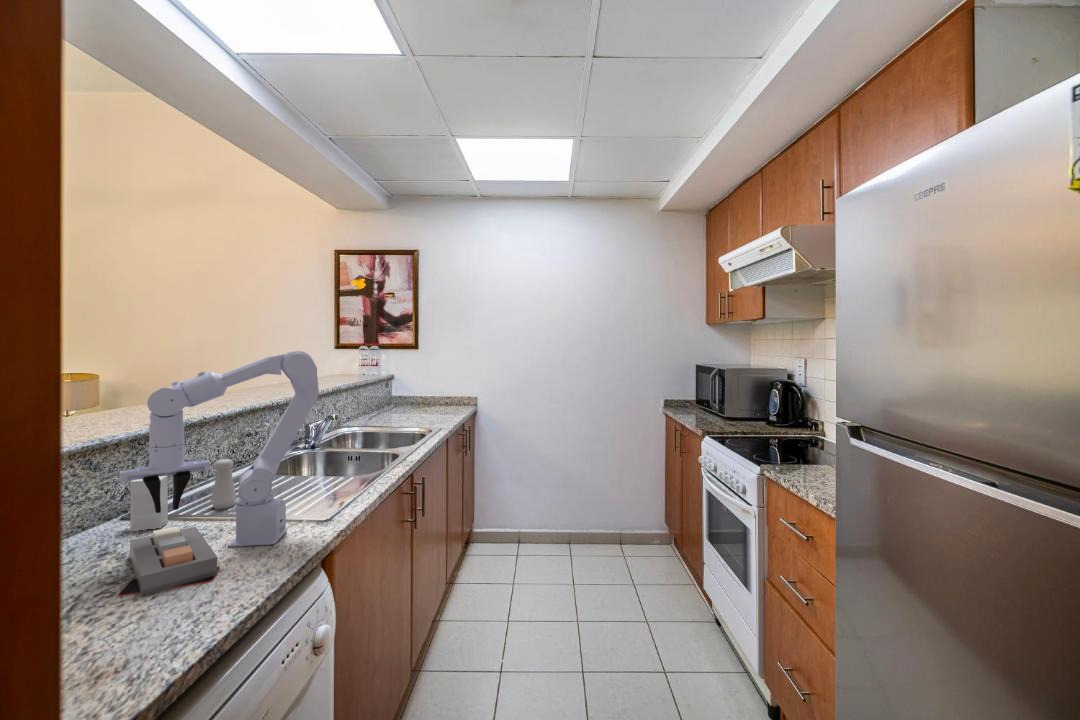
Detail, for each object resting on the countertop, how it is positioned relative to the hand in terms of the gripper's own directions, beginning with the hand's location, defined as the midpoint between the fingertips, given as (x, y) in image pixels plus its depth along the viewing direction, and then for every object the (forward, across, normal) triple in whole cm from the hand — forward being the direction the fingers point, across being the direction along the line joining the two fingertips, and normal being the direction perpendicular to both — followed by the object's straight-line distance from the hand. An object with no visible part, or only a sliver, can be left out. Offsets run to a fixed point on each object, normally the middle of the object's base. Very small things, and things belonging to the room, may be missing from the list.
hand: (166, 510), depth 97 cm
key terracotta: (+7, 0, +14) cm, 16 cm away
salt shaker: (+10, -16, -28) cm, 33 cm away
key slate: (+7, 0, +7) cm, 10 cm away
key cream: (+7, 0, 0) cm, 7 cm away
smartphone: (+10, +1, +15) cm, 18 cm away
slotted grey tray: (+9, 0, +7) cm, 12 cm away
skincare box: (+10, +1, -22) cm, 24 cm away
